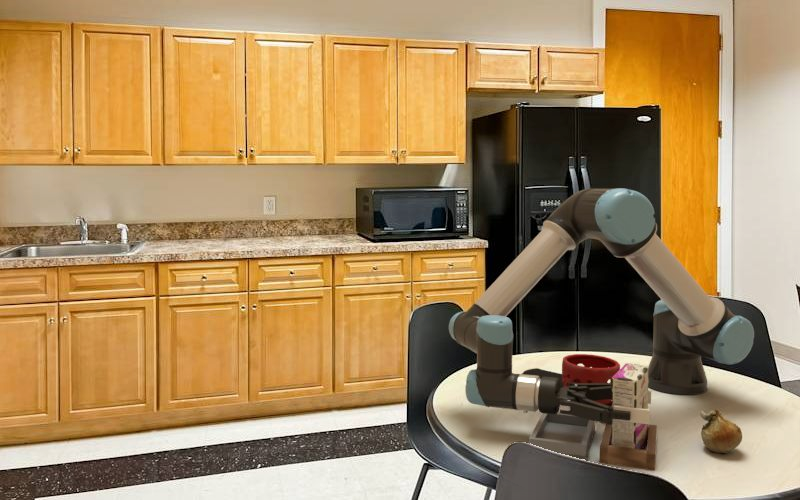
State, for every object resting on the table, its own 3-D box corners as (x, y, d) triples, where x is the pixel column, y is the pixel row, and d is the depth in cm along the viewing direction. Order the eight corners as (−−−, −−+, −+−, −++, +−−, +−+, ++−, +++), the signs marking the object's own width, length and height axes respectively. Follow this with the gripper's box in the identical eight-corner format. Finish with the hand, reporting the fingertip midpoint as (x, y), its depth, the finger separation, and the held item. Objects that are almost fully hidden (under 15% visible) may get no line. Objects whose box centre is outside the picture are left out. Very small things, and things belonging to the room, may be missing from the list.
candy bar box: (622, 438, 141) (625, 362, 140) (647, 443, 139) (650, 365, 137) (608, 457, 132) (611, 376, 130) (635, 463, 129) (637, 379, 128)
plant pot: (588, 422, 151) (589, 370, 149) (549, 405, 162) (550, 357, 161) (631, 413, 157) (632, 362, 155) (590, 397, 168) (591, 350, 167)
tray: (594, 430, 146) (594, 417, 146) (585, 461, 130) (585, 446, 130) (543, 424, 150) (543, 411, 150) (528, 453, 134) (529, 438, 134)
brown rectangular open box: (656, 439, 141) (656, 420, 140) (654, 470, 126) (655, 449, 126) (606, 432, 145) (606, 414, 144) (599, 462, 130) (599, 442, 129)
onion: (700, 456, 132) (702, 417, 131) (698, 441, 140) (699, 404, 139) (743, 461, 130) (745, 421, 129) (738, 446, 137) (740, 408, 136)
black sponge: (586, 393, 172) (586, 379, 172) (568, 400, 166) (568, 386, 166) (532, 380, 184) (533, 366, 183) (514, 386, 178) (514, 373, 178)
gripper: (548, 394, 152) (651, 405, 144) (528, 431, 130) (647, 447, 122) (549, 362, 152) (652, 371, 144) (528, 394, 130) (649, 407, 122)
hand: (650, 406), depth 133 cm, fingers closed on candy bar box, 11 cm apart
